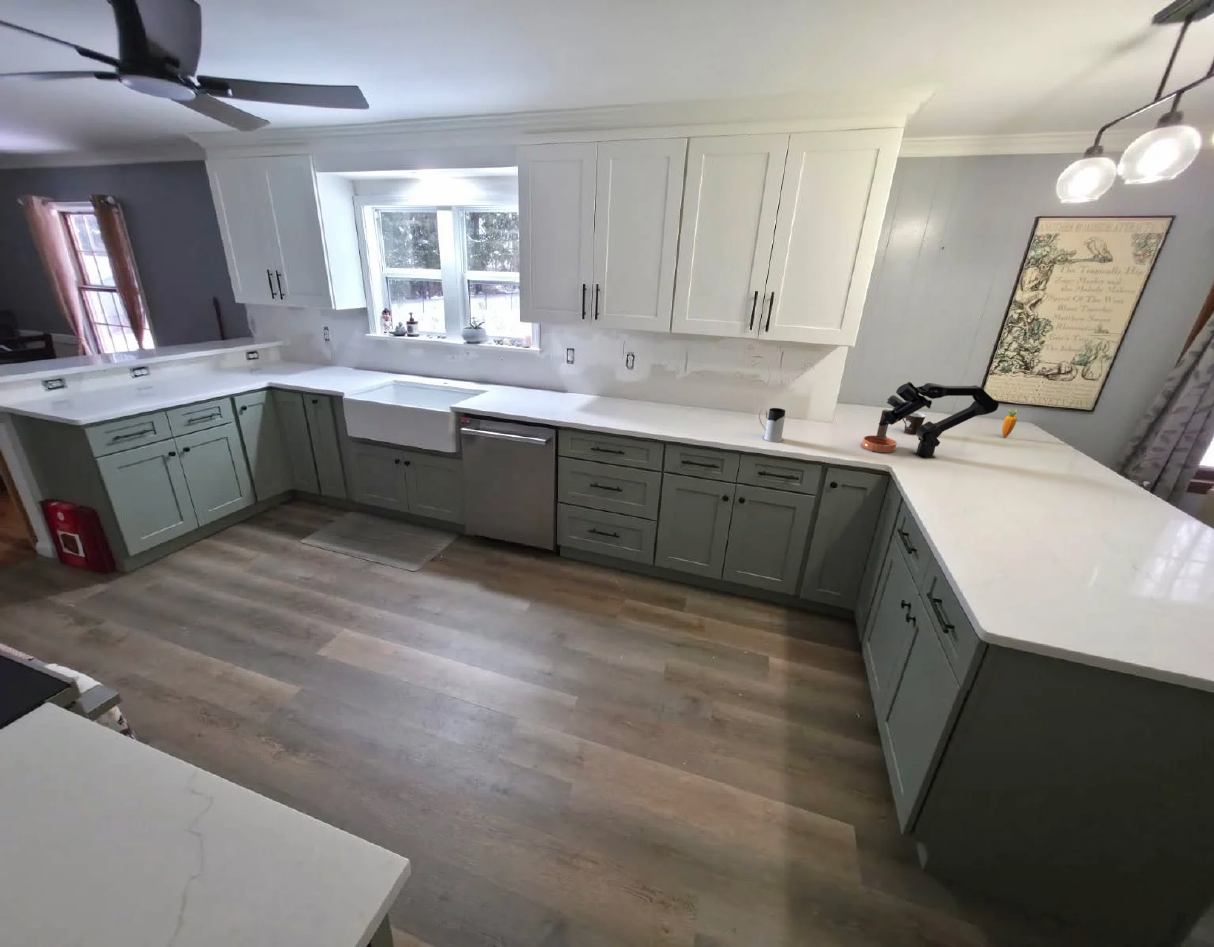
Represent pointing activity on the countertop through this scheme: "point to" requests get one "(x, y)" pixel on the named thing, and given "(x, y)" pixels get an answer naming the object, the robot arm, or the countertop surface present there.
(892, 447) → the bowl
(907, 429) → the coffee mug
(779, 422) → the white pitcher
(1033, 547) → the countertop surface
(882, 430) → the brown wooden block
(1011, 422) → the carrot
